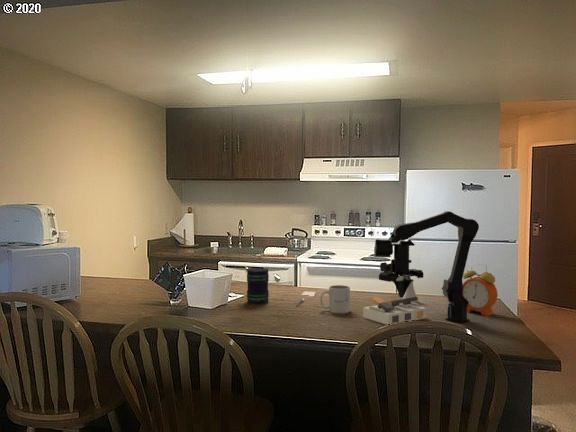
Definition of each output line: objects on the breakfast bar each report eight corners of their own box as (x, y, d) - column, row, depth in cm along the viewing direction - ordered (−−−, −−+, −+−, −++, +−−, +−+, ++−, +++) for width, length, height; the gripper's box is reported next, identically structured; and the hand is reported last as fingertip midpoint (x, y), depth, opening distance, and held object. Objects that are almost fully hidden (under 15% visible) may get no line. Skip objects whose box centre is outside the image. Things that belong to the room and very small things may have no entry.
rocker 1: (392, 312, 181) (394, 307, 180) (386, 313, 179) (387, 308, 178) (377, 302, 188) (378, 296, 187) (370, 303, 186) (371, 297, 186)
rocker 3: (418, 302, 187) (417, 296, 187) (412, 303, 185) (410, 297, 185) (402, 305, 194) (401, 299, 195) (396, 306, 192) (395, 300, 193)
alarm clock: (459, 310, 198) (460, 263, 198) (467, 308, 202) (467, 262, 202) (490, 316, 188) (490, 266, 188) (497, 314, 192) (498, 265, 191)
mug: (349, 308, 202) (349, 285, 202) (349, 313, 194) (349, 289, 193) (320, 307, 204) (321, 284, 203) (319, 312, 195) (319, 288, 195)
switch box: (426, 318, 186) (426, 305, 186) (388, 325, 175) (389, 312, 175) (399, 311, 198) (399, 299, 198) (363, 317, 187) (363, 304, 187)
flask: (418, 303, 212) (418, 281, 212) (402, 303, 214) (402, 281, 213) (417, 300, 219) (417, 278, 219) (401, 299, 221) (401, 278, 220)
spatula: (315, 294, 234) (315, 291, 234) (303, 308, 205) (303, 304, 205) (303, 294, 235) (303, 291, 235) (290, 307, 207) (290, 304, 207)
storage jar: (243, 304, 211) (243, 270, 210) (250, 299, 220) (250, 267, 220) (265, 305, 208) (265, 271, 208) (271, 300, 218) (271, 268, 217)
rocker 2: (406, 305, 183) (405, 298, 184) (400, 306, 181) (399, 299, 182) (390, 306, 191) (389, 300, 191) (384, 307, 189) (383, 301, 189)
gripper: (403, 253, 195) (403, 291, 195) (369, 256, 185) (368, 296, 185) (424, 256, 185) (424, 296, 186) (389, 259, 175) (389, 301, 176)
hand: (401, 297), depth 183 cm, fingers closed
